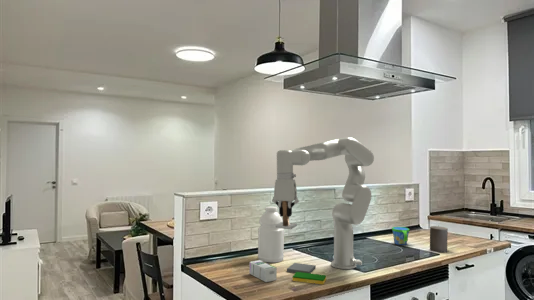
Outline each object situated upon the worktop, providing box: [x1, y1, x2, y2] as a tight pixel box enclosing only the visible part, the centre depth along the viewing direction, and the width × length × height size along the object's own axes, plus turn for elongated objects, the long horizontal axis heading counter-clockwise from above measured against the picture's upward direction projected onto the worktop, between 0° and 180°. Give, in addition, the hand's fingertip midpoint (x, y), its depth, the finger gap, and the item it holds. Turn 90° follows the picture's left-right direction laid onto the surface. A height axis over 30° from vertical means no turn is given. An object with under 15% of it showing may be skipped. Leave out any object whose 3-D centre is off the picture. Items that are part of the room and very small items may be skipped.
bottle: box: [257, 205, 285, 264], centre depth 195 cm, size 14×14×28 cm
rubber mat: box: [286, 262, 317, 274], centre depth 176 cm, size 11×11×2 cm
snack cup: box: [391, 226, 410, 246], centre depth 233 cm, size 16×10×10 cm
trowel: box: [276, 201, 297, 230], centre depth 168 cm, size 8×6×13 cm
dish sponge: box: [292, 272, 327, 285], centre depth 161 cm, size 7×14×2 cm, turn 70°
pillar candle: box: [429, 225, 449, 253], centre depth 217 cm, size 10×10×15 cm
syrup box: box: [249, 259, 278, 283], centre depth 165 cm, size 6×6×14 cm
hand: (285, 215), depth 168 cm, fingers closed on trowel, 3 cm apart
